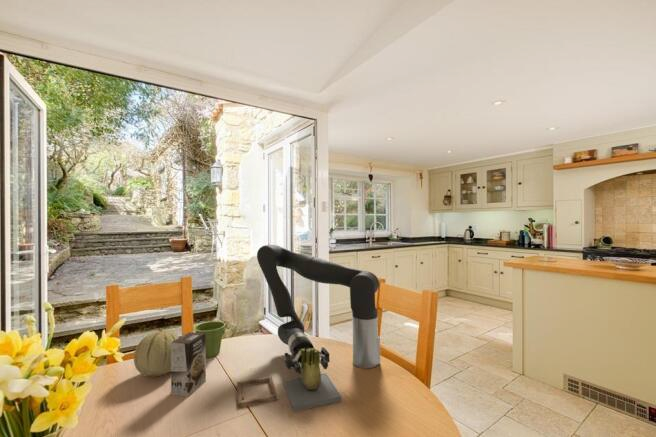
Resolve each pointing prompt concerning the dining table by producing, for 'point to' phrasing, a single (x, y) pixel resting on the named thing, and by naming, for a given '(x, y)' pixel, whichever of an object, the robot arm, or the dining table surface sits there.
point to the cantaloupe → (154, 354)
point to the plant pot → (211, 336)
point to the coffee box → (188, 363)
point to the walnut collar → (259, 399)
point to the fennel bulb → (310, 369)
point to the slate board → (311, 393)
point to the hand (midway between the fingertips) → (313, 368)
